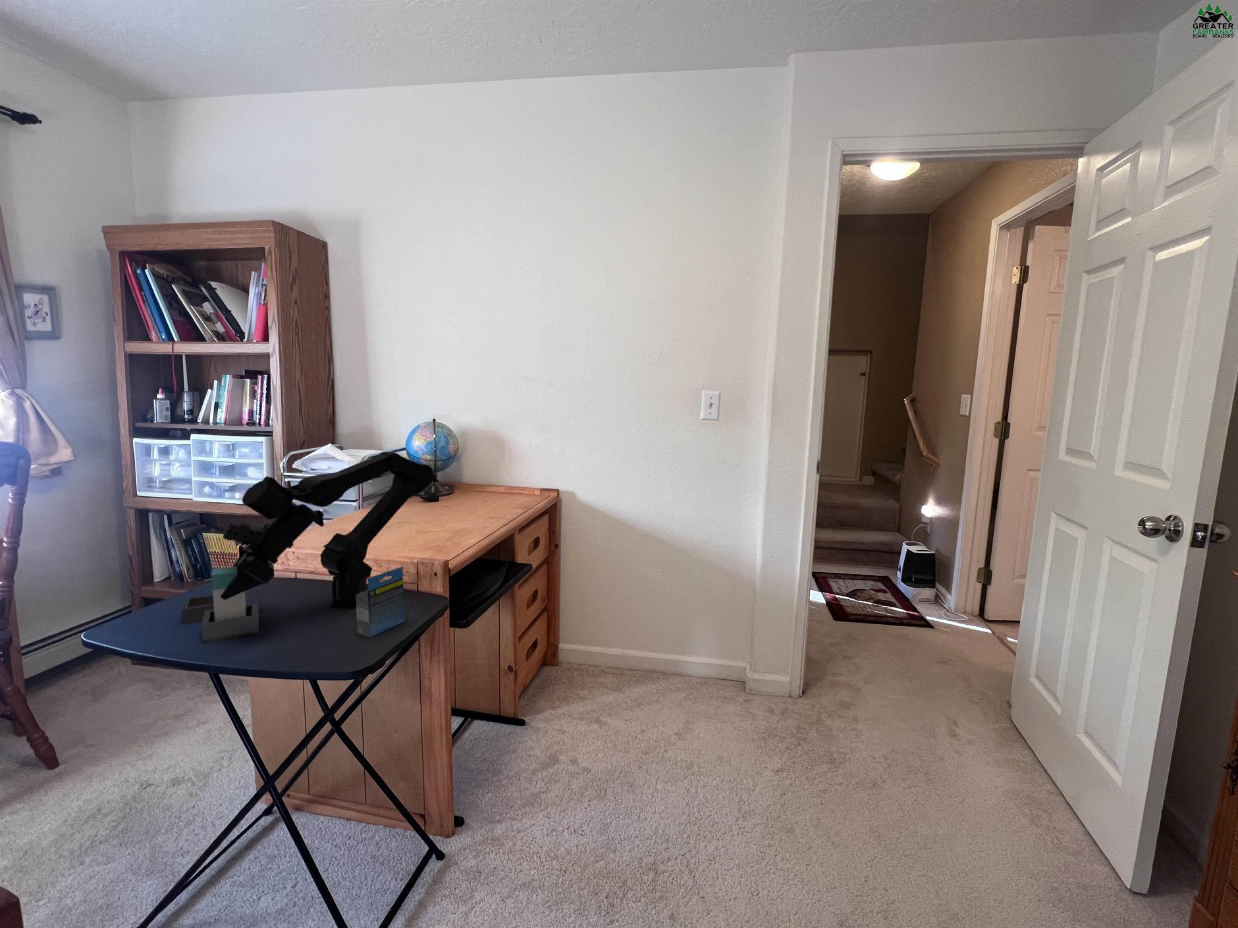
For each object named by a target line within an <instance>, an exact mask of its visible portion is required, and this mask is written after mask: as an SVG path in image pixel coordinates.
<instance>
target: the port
mask: <svg viewBox="0 0 1238 928" xmlns="http://www.w3.org/2000/svg"><path fill="white" fill-rule="evenodd" d="M259 616H260V615H259V605H258V602H254V603H247V604H246V617H240V618H234V619H228V620H221V621H215V615H214V609H213V610H207V611H205V612H204V617H203V621H201V622H202V623H201V636H202V643H203V644H204V643H205V644H206V643H210V642H216V641H217V642H218V641H222V640H227V639H234V638H240V637H246V636H250V635H255V634H259V633H260V632H259V631H260V628H259V627H260V626H259V624H260V623H259V620H260V617H259Z"/></svg>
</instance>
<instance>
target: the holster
mask: <svg viewBox="0 0 1238 928" xmlns="http://www.w3.org/2000/svg"><path fill="white" fill-rule="evenodd" d="M213 609H214V602H213V593H212V594H206V595H198V596H192V597H185V599H184V602H183V604H182V608H181V616H182V624H191V623H196V622H202V621H203V617H204V612H205V611H207V610H213Z"/></svg>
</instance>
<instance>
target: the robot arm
mask: <svg viewBox="0 0 1238 928" xmlns="http://www.w3.org/2000/svg"><path fill="white" fill-rule="evenodd" d="M388 472H389V473H390V474H391V475H393V479H392V484H391V487H390V488H389V489H388V490H387V491H386V492H385V494H384V495H382V497H380V499H379V500H378V501H377V502H376V503H375V504H374V505H373V506H372V507H371V508H370V510H369V511H367V513H366V514H365V516H364V517H363V518H361V519H360V521H359V522H358V523H357V524H356V525H355V527H353V529H352V530H350V531H349V532H348V533H346V534H341V533H338V532H337V533H335V534H334V535H333V536H332V537H331V539H330V540H329V541H328V542H327V543H326V544H324V545H323V546H322V547H323V550H322V551H321V553H320V556H319V557H320V564H321V566H322V567H323V568H324V569H326V570H327V572H328V574H329V576H333V577H332V582H331V599H332V601H331V602H329V603H328V604H329V606H331V607H339V608H348V609H349V608H351V609H356V595H357V594H359V593H362V592H364V591H367V590H368V578H370V577H371V575H372V571H373V568H372V566H370V565H369V564H367V563H366V562H365V561H364V560H365V559H366V557H367V552H368V548H369V546H370V544H371V543H372V541H373V540H374V539H375V538H376V537H377V535H378V534H379V533H380V532H381V531H382V530H383V529H384V527H385V526H386V525H387V524H388V523H389V522H390V521H391V520H392V518H394V516H395V515H396V514H397V513H398V512H399V510H400V509H401V508H402V507H403V506H404V505H405V503H406V502H407V501H408V500H409V499H410V498H412V497H415V496H417V495H419V494H421V493H422V492H424V491H425V490H426V489H427V488H428V487H429V486H431V484H433V481H434V479H435V477H434V470H433V468H432V467H431V466H430V465H429V464H426V463H425V464H424V463H419V462H416V461H414V460H411V459H409V458H406V457H404V456H402V455H400V454H399V453H397V452H392V451H391V452H390V451H381V452H380V453H379V454H378V455H376V456H372V457H370V458H368V459H365V460H363V461H360V462H357V463H355V464H353V465H350V466H348V467H346V468H343V469H341V470H338V471H334V472H329V473H321V474H315V475H310V476H306V477H304V478H302V479H301V480H299V481H298V483H297V484H294V485H291V486H287V487H285V486H283V485H281V484H280V483H279V481H277V480H276V479H275V478H274V477H271V476H267V475H266V476H265V477H264V478H262V480H260V481H258V482H256V483H255V484H253V485H252V486H251V487H249V488H248V489H246V491H245V493H244V494H243V496H242V499H241V500H242V501H241V502H242V504H243V505H244V506H246V507H247V508H249V509H251V510H252V511H254V512H256V513H257V514H258V515H261V516H262V517H264V518H265V519H267V520H273V521H271V522H266V523H265V524H263V525H262V526H258V525H255V524H252V523H249V522H245V521H242V520H238V519H235V518H230V519H229V521H228V523H227V526H226V528H225V530H224V532H223V536H222V538H223V539H224V540H227V541H234V542H238V543H239V544H238V557H237V559H236V561H235V562H234V563H233V565H232V567H235V566H236V568H237V574H236V575H235V577H234V578H233V579H232V581H231V582H230V583H229V585H228V586H227V588H226V589H225V590H224V592H223V593H222V595H221V598H222V599H224V600H226V599H229V598H231V597H233V596H235V595H237V594H240V593H242V592H244V591H245V592H247V591H248V590H251V589H254V588H256V587H258V586H260V585H261V586H263V585H264V584H266V585H267V584H268V583H269V582H270V581H271V580H273V578H274V577H275V564H277V562H278V561H279V559H278V558H279V557H280V556H281V555H282V554H283V553H284V552H285V551H286V550H287V549H292V547H293V546H295V545H294V542H295V541H296V540H297V539H299V537H300V536H301V535H303V533H304V532H305V531H306V530H307V529H308V528H309V527H310V526H311V525H312V524H313V523H315V524H317V525H318V526H319V527H324V526H325V523H324V515H325V514H324V513H323V512H322V510H321V509H317V510H313V509H312V508H311V507H309V506H308V505H310V506H311V505H312V506H314V507H315V506H316V507H319V508H325V507H328V506H331V505H332V504H333V503H335V502H336V501H338V500H340V499H341V498H342V497H343V496H344V494H345V493H346V492H347V491H349V490H351V489H352V488H355V487H356V486H360V485H362V484H364V483H365V482H368V481H371V480H372V479H375V478H378V477H380V476H381V475H384V474H386V473H388ZM293 501H297V502H301V503H300V504H297V503H295V502H293ZM306 504H307V505H306Z"/></svg>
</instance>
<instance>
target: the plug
mask: <svg viewBox="0 0 1238 928" xmlns="http://www.w3.org/2000/svg"><path fill="white" fill-rule="evenodd" d="M236 574H237V568H236V566H235V567H233V566H226V567H220V568H219V567H218V568H212V571H211V585H212V586H211V587H212V588H211V589H212V594H213V602H214V615H215V621H221V620H228V619H234V618H240V617H246V603H247V602H246V591H244V592H242V593H240V594H237V595H235V596H233V597H231V598H229V599H226V600H224V599H222V598H221V595H222V593H223V592H224V590H225V589H226V588H227V586H228V585H229V583H230V582H231V581H232V579H233V578H234V577H235V575H236Z"/></svg>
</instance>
